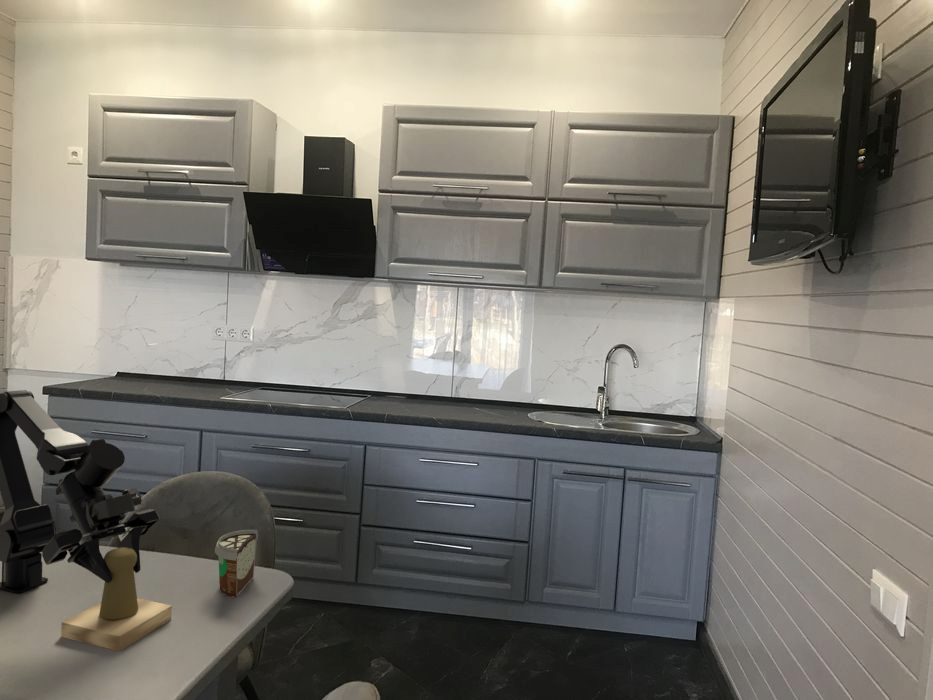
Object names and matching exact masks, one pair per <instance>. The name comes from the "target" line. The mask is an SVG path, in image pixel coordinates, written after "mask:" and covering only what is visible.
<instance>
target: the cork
mask: <svg viewBox="0 0 933 700" xmlns="http://www.w3.org/2000/svg"><path fill="white" fill-rule="evenodd" d="M103 559H104V561H105V563H106V565H107V567H108V569H109V571H110V573H111V576H112V581H111V582H110V583H107V582H105V581H104V585H103V589H102V590H103V591H102V597H101V601H100V602H101V607H100V613H99V615H100V617H102V618H104V619H112V620H114V619H122V618H126V617H128V616H131V615H133V614H134V613H136V612H137V611H138V601H137V598H138V593H137V586H136V585H137V584H136V580H135V579H136V578H135V572H134V570H133V567H134V566H135V564H136V561H137V554H136V552H135V551H134V550H133V549H131V548H125V547H123V548H118V547H116V548H112V549H111V550H109V551H107V552H106V553H105V555H104V556H103Z"/></svg>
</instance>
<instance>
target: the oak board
mask: <svg viewBox="0 0 933 700" xmlns="http://www.w3.org/2000/svg"><path fill="white" fill-rule="evenodd" d="M137 601H138V611H137V612H136V613H134V614H133V615H131V616H128V617H126V618H122V619H114V620H112V619H104V618H102V617H100V615H99V613H100V607H101V601H100V602H98V603H97V604H95V605H93V606H91V607H89V608H87V609H85V610H82V611H81V612H79V613H77V614H75V615H73V616H71V617H69V618H67V619H65V620H64V621H62V622H61V633H60V634H61V635H60V637H61V638H65V639H69V640H73V641H78V642H82V643H85V644H89V645H93V644H94V645H93V646H98V647H101V648H106V649H109V650H113V651H117V652H121V651H122V650H123V649H125V648H127V647H129V646H131V645H132V644H134V643H135V642H137V641H138V640H140V639H142V637H145V636H146V635H148V634H149V633H151V632H153V631H155V630H156V629H158V628H159V627H161V626H162V625H164V624H165V623H167V622H169V621H170V620H172V609H173V608H172V607H173V605H171V604H167V603H161V602H156V601H152V600H148V599H142V598H140V597H139V598H138V597H137ZM144 635H145V636H144ZM139 638H140V639H139ZM136 640H137V641H136ZM131 643H132V644H131ZM128 645H129V646H128ZM126 646H127V647H126Z"/></svg>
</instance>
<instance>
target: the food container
mask: <svg viewBox="0 0 933 700" xmlns="http://www.w3.org/2000/svg"><path fill="white" fill-rule="evenodd" d="M258 534H259V533H258V530H257V529H244V530H243V529H242V530H236V531H231V532H228V533H226V534H224V535H221V537H219V539H218V540H217V542H216V545H215V548H214V553H215V554H216V555H217V557H218V575H219V577H218V580H219V581H218V582H219V592H220V593H222V594H223V595H225V594H226V595H225V596H227V597H232V596H234V598H237V597H238V596H239V595H240V594H241V593H240V592H243V591H244V589H245V588H246V587H247V586H248V585H249V584H250V582H251V581H252V580H253V579H254V578H255V577H254V575H255V566H256V565H255V563H256V551H257V540H258V539H259V537H258V536H259V535H258ZM253 577H254V578H253ZM252 578H253V579H252ZM251 579H252V580H251ZM250 580H251V581H250ZM248 583H249V584H248ZM247 584H248V585H247ZM246 585H247V586H246ZM245 586H246V587H245ZM239 593H240V594H239ZM238 594H239V595H238Z"/></svg>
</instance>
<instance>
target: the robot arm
mask: <svg viewBox="0 0 933 700" xmlns="http://www.w3.org/2000/svg"><path fill="white" fill-rule="evenodd" d="M17 428H19V429H20V430H21V431H22V432H23V433H24V435H26V437H27V438H28V439H29V440H30V441H31V442H32V444H33V445H34V447H36V449H37V451H36V461H37V462H38V463H39V465H40V468H42V470H43V471H44V473H46V474H47V475H48V476H56V475H62V474H66V475H65V477H64V478H62V479H59V480H58V485H57V487H56V489H55V495H56V496H60V495H63V496H64V498H65V500H66V502H67V504H68V507H69V508H70V510H71V513H72V514H71V515H70V516H69V520H70V522H71V523H74V522H76V523H77V526H78V527H79V529H77V528H74V529H71V530H70V529H69V530H66V531H62V532H59V533H56V531H57V528H56V524H55V523H56V522H55V520H54V519H53V516H52V512H51V508H50V506H49V505H48V504H40V503H39V502H38V501H36V499H35V496H34V493H33V490H32V486H31V484H30V480H29V479H30V478H29V476H28V472H27V469H26V466H25V463H24V459H23V455H22V452H21V449H20V446H19V442H18V438H17V436H16V430H17ZM125 460H126V457H125V454H124V452H123V450H121V449H119V448H118V447H117V446H116V445H114V444H113V443H108V442H106V439H105V438H103V437H102V438H96V439H92V440H91V441H90V443H88V442H87V441H85V439H83V438H82V437H80V436H79V435H77V434H75V433H72V432H70V431H66V430H64V429H62V428H61V427H60V426H59V424H57V423H56V422H55V421H54V419H53V418H51V416H50V415H49V414H48V413H47V412H46V410H44V408H43V407H42V406H41V405H40V404H39V403H38V402H37V401H36V400H35V396H34V394H33V392H32V391H31V390H30V391H28V390H26V389H24V390H23V389H21V390H20V389H19V390H9V391H4V392H1V393H0V495H1V499H2V503H3V506H4V514H3V516H2V518H1V521H0V562H1V581H0V590H3V591H6V592H9V593H10V592H11V593H15V594H20V593H23V592H26V591H27V590H28V591H29V590H31V589H33V588H36V587H37V586H39V585H43V584H44V583H47V582H48V581H49V578H48V577H44V576H43V561H44V563H45V565H52V564H56V563H59V562H61V561H64V560H65V559H66V557H67V555H68V553H69V555H70V556H69V557H68V558H67V560H66V561H67V563H68V564H70V563H74V564H76V565H78V566H80V567H82V568H84V569H86V570H88V571H89V572H90V573H92V574H93V575H95V576H96V577H98V578H99V579H100V580H102V581H104V583H105V582H107V583H110V582H111V581H112V576H111V573H110V571H109V569H108V567H107V565H106V563H105V561H104V556H103V554H102V552H101V551H100V542H101V541H105V540H107V539H111V538H115V537H118V539H119V540H120V541H119V543H118V544H117V545H116V548H123V547H125V548H131V549H133V550H134V551H135V552H136V554H137V561H136V564H135V566H134V567H133V570H134V574H137V573H139V572H140V571H141V557H140V554H141V553H140V541H141V537H143V536H145V535H147V534H148V533H150V531H152V529H154V527H155V526H156V525H157V524H158V523H159V522H160V520H161V517H160V515H159V514H158V512H157V510H156V509H152V508H148V509H144V510H141V511H137V512H135V511H136V507H137V506H139V505H141V504H142V502H143V501H142V496H141V493H140V492H139V490H138V488H136V487H133V488H128V489H126V490H124V491H122V492H121V495H118V496H113V495H112V494H111V493H109V494H106V493H105V491H104V489H103V488H102V487H103V486H106V484H108V482H109V481H110V480H111V479H112V478H113V477H114V475H116V473H117V472H118V471H119V470H120V469H121V467H122V466H123V465H124V463H125ZM130 512H135V513H133V514H132V515H131V516H130V517H129V519H128V520H127V521H125V522H121V523H120V521H122V520H124V518H126V515H125V514H126V513H130ZM42 558H43V560H42Z"/></svg>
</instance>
